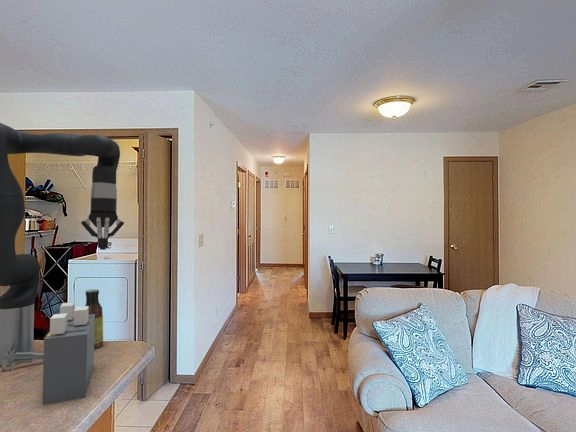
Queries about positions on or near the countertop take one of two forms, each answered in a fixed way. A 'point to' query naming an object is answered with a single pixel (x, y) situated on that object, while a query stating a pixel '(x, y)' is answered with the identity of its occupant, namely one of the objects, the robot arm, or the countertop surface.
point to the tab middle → (81, 315)
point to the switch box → (68, 362)
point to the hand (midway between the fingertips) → (102, 249)
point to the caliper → (19, 358)
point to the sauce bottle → (97, 310)
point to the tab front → (58, 324)
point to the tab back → (68, 309)
